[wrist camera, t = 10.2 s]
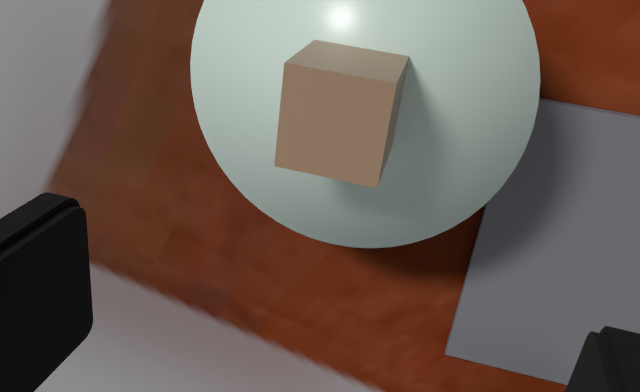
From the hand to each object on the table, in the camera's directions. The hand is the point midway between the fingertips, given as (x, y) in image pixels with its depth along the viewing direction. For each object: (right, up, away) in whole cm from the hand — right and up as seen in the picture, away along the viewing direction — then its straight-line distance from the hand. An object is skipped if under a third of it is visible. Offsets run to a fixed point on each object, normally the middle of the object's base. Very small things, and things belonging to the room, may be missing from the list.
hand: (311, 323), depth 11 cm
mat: (+17, -2, +22) cm, 28 cm away
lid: (+2, +7, +16) cm, 17 cm away
